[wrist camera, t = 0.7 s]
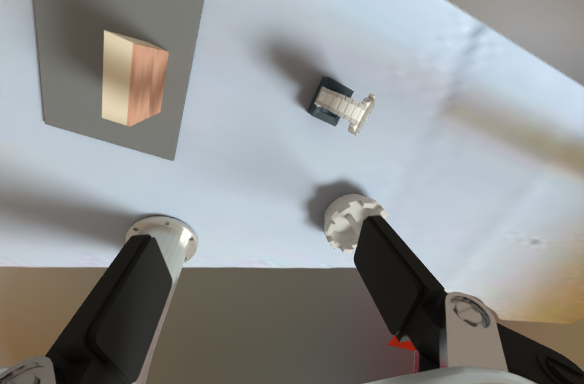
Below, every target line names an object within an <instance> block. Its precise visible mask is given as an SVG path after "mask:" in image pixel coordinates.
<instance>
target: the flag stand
mask: <svg viewBox="0 0 584 384" xmlns="http://www.w3.org/2000/svg"><path fill="white" fill-rule="evenodd" d="M373 215H381V216H382V217H383V218H384V219H385V218H387V217H388V216H387V213H386V211H385V210H384V209H383V208H382V207H381V206H380V205H379V204H378V203H377V202H376V201H375V200H373V199H371V198H367V197H364V196H363V195H360V194H347V195H344V196H341V197H339V198H337V199H336V200H335V201H333V202H332V203H331V204H330V205H329V207H328V208H327V210H326V212H325V216H324V221H325V224H324V232H325V235H326V238H327V240H328V242H329V244H330V245H331V247H332V248H334V249H335V248H336V247H337V248H340V249H341V250H342V252H343V253H353V251H354V249H353V248H356V247H357V243H358V239H359V235H360V231H361V227H362V224H363V220H364V219H366V218H367V216H373ZM388 345H391V346H396V347H400V348H404V349H409V350H413V351H415V347H414V345H413V344H412V342H411V341H406V342H401V343H399V342H398V340H397V338H396V336H394V337H393V339H392V340H391V341H390V343H389V344H388Z"/></svg>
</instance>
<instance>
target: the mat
mask: <svg viewBox="0 0 584 384" xmlns="http://www.w3.org/2000/svg"><path fill="white" fill-rule="evenodd" d="M203 3H204V0H34V5H35V17H36V28H37V39H38V51H39V62H40V73H41V84H42V96H43V107H44V118H45V124H47V125H51V126H54V127H57V128H61V129H64V130H68V131H71V132H75V133H78V134H82V135H85V136H89V137H92V138H95V139H99V140H102V141H106V142H109V143H113V144H116V145H120V146H123V147H127V148H130V149H133V150H137V151H140V152H144V153H147V154H151V155H154V156H158V157H161V158H165V159H168V160H171V161H173V160H174V157H175V152H176V147H177V141H178V136H179V131H180V125H181V120H182V115H183V109H184V104H185V99H186V93H187V88H188V83H189V77H190V72H191V67H192V62H193V56H194V51H195V46H196V40H197V35H198V30H199V24H200V19H201V14H202V8H203ZM104 30H105V31H109V32H113V33H116V34H120V35H124V36H128V37H131V38H135V39H139V40H142V41H146V42H149V43H151V44H153V45H155V46H157V47H160V48H162V49H164V50H166V51H169V54H168V61H167V68H166V75H165V82H164V89H163V96H162V103H161V110H160V113H158V114H155V115H153V116H151V117H149V118H147V119H145V120H143V121H141V122H139V123H136V124H134V125H132V126H130V127H129V126H126V125H123V124H120V123H117V122H114V121H111V120H107V119H104V118H102V91H103V53H104Z"/></svg>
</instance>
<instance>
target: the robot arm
mask: <svg viewBox="0 0 584 384" xmlns="http://www.w3.org/2000/svg"><path fill="white" fill-rule="evenodd" d="M125 243H126V244H125V245H124V247H123V248H122V249H121V251H120V252H119V254H118V255H117V256H116V258H115V259H114V261H113V262H112V263H111V265H110V266H109V268H108V269H107V271H106V272H105V273H104V275H103V276H102V277H101V279H100V280H99V281H98V283H97V284H96V286H95V287H94V288H93V290H92V291H91V293H90V294H89V295H88V297H87V298H86V300H85V301H84V302H83V304H82V305H81V307H80V308H79V309H78V311H77V312H76V314H75V315H74V316H73V318H72V319H71V321H70V322H69V324H68V325H67V326H66V328H65V329H64V330H63V332H62V333H61V335H60V336H59V337H58V339H57V340H56V342H55V343H54V344H53V346H52V347H51V349H50V350H49V352H48V353H47V354H46V356H36V357H32V358H29V359H26V360H23V361H22V362H19V363H17V364H16V365H14V366H12V367H0V384H145V382H146V378H147V373H148V369H149V365H150V362H151V358H152V355H153V352H154V348H155V345H156V342H157V339H158V336H159V333H160V330H161V327H162V324H163V321H164V319H165V315H166V313H167V310H168V306H169V304H170V301H171V298H172V295H173V292H174V289H175V286H176V283H177V281H178V278H179V275H180V272H181V269H182V266H183V263H185V262H186V261H188V260H189V259H191V258H192V257H193V255H194V254H195V252H196V250H197V246H198V240H197V236H196V234H195V232H194V231H193V230H192V229H191V228H190V227H189V226H188V225H187V224H185V223H183V222H181V221H179V220H177V219H174V218H170V217H163V216H153V217H147V218H144V219H141V220H139V221H137V222H136V223H134V224H133V225H132V226H131V227H130V229H129V230H128V232H127V234H126V237H125ZM354 263H355V266H356V268H357V270H358V271H359V273H360V275H361V277H362V279H363V281H364V283H365V285H366V287H367V289H368V291H369V292H370V294H371V296H372V298H373V300H374V302H375V304H376V306H377V308H378V309H379V312H380V314H381V315H382V317H383V319H384V321H385V323H386V325H387V327H388V329H389V331H390V332H391V333H392V334H393V335H395V336H396V338H397V340H398V342H399V343H401V342H406V341H411V342H412V344H413V345H414V347H415V358H414V373H413V374H408V375H403V376H398V377H393V378H389V379H384V380H379V381H374V382H370V383H365V384H584V372H583V371H582V370H581V369H580V368H579V367H578V366H577V365H576V364H574V363H573V362H572V361H570V360H569V359H568V358H566V357H565V356H563V355H561V354H559V353H558V352H556V351H554V350H552V349H550V348H548V347H546V346H544V345H541V344H539V343H537V342H535V341H533V340H531V339H529V338H527V337H525V336H523V335H521V334H519V333H517V332H515V331H513V330H511V329H508V328H506V327H504V326H502V325H500V324H498V323H496V321H495V319H494V316H493V315H492V314H491V312H490V311H489V310H488V309H487V308H486V307H485V306H484V305H483V304H482V303H481V302H479V301H478V300H476V299H475V298H473V297H471V296H469V295H467V294H464V293H461V292H452V293H449V294H447V293H446V292H445V291H444V289H445V288H444V287H443V286H442V285H441V284H440V283H439V282H438V280H437V279H436V278H435V277H434V276H433V275H432V274H431V272H430V271H429V270H428V269H427V268H426V267H425V265H424V264H423V263H422V262H421V261H420V260H419V259H418V257H417V256H416V255H415V254H414V253H413V252H412V250H411V249H410V248H409V247H408V246H407V245H406V244H405V242H404V241H403V240H402V239H401V238H400V237H399V236H398V234H397V233H396V232H395V231H394V230H393V229H392V227H391V226H390V225H389V224H388V223H387V222H386V221H385V219H384V218H383V217H382V216H381V215H373V216H367V218H366V219H364V220H363V224H362V227H361V231H360V235H359V239H358V243H357V247H356V251H355V254H354Z"/></svg>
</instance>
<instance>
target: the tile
mask: <svg viewBox="0 0 584 384" xmlns="http://www.w3.org/2000/svg"><path fill="white" fill-rule="evenodd" d="M168 54H169V51H166V50H164V49H162V48H160V47H157V46H155V45H153V44H151V43H149V42H146V41H142V40H139V39H135V38H131V37H128V36H124V35H120V34H116V33H113V32H109V31H105V30H104V53H103V91H102V118H104V119H107V120H111V121H114V122H117V123H120V124H123V125H126V126H129V127H130V126H132V125H134V124H136V123H139V122H141V121H143V120H145V119H147V118H149V117H151V116H153V115H155V114H158V113H160V110H161V103H162V96H163V89H164V82H165V75H166V68H167V61H168Z"/></svg>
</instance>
